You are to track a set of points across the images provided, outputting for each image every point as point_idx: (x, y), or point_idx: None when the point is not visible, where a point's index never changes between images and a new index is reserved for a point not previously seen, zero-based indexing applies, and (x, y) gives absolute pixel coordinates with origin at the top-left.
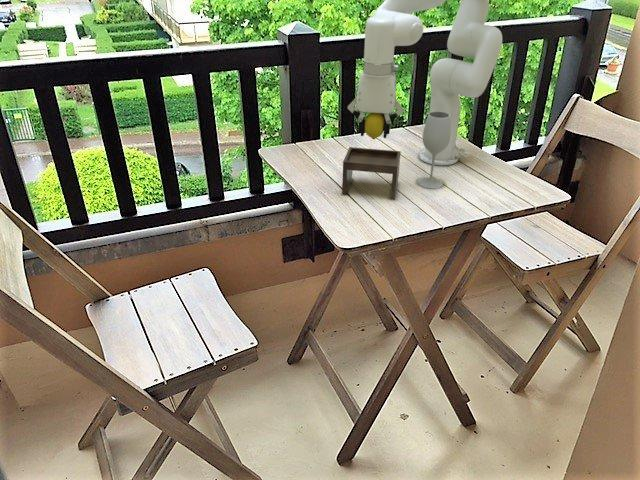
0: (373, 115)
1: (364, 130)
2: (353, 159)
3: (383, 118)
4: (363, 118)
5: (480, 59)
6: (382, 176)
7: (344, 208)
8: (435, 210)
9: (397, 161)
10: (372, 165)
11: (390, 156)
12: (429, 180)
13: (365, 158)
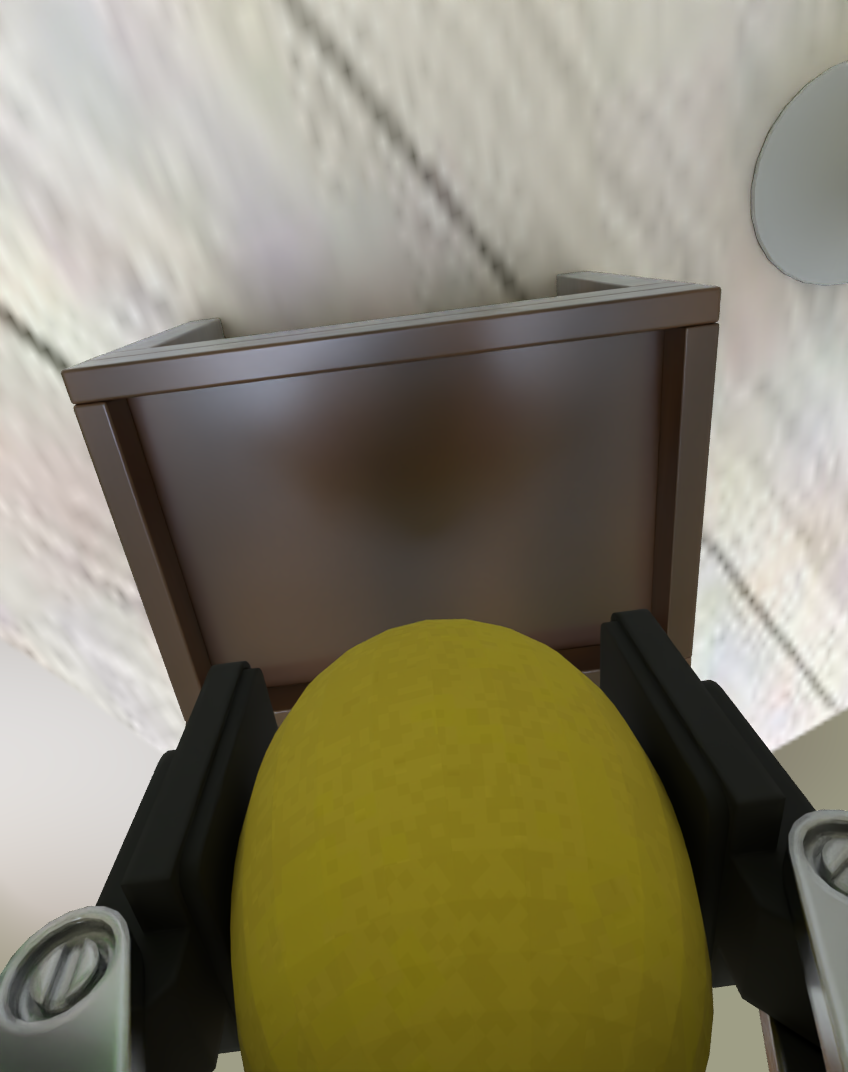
0: None
1: (261, 735)
2: (234, 574)
3: (710, 1013)
4: (187, 1059)
5: None
6: (443, 166)
7: None
8: (826, 576)
9: (686, 583)
10: None
11: (587, 368)
12: None
13: (339, 511)
